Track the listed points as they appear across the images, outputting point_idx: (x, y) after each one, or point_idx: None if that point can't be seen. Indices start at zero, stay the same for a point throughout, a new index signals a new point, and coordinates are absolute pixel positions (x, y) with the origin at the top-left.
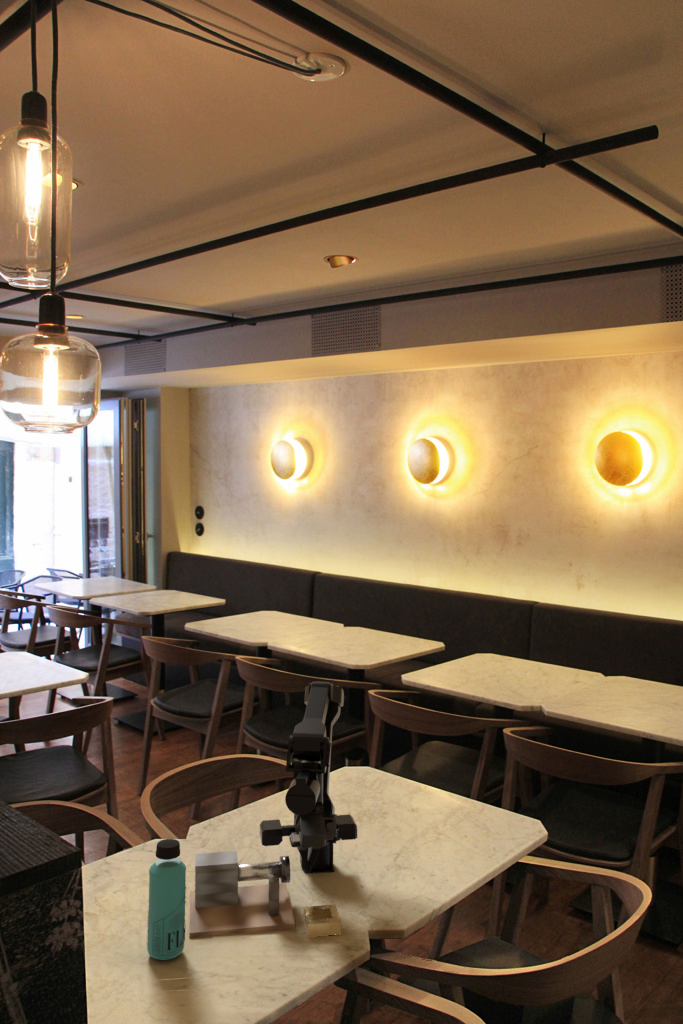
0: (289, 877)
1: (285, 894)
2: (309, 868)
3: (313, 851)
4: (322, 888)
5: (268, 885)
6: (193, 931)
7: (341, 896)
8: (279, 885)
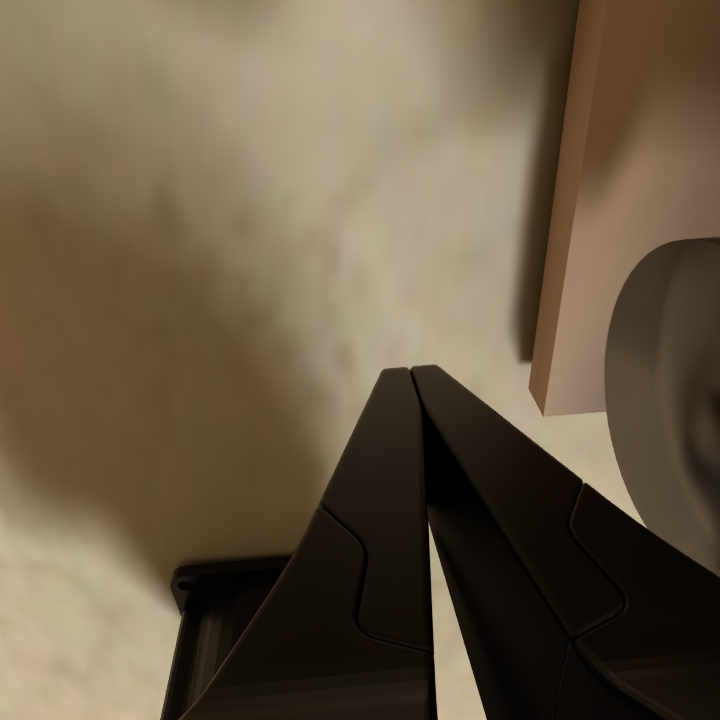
0: (717, 238)
1: (596, 250)
2: (406, 395)
3: (379, 627)
4: (252, 405)
5: None
6: None
7: (93, 294)
8: (604, 387)
